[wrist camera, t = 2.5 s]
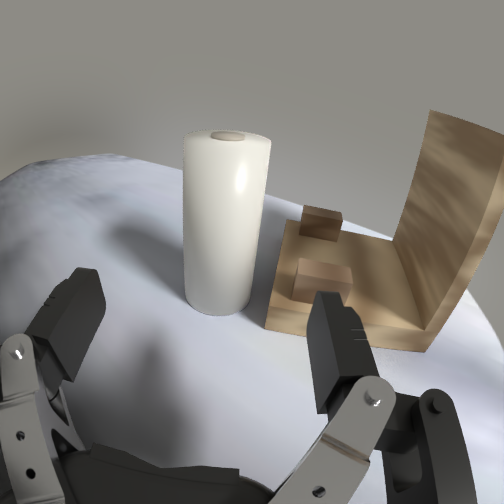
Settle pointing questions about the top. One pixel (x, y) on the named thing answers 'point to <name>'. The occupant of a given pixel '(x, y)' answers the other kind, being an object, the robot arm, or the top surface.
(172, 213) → the top surface
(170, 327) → the top surface
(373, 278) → the holder
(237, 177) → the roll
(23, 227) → the top surface
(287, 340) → the top surface
